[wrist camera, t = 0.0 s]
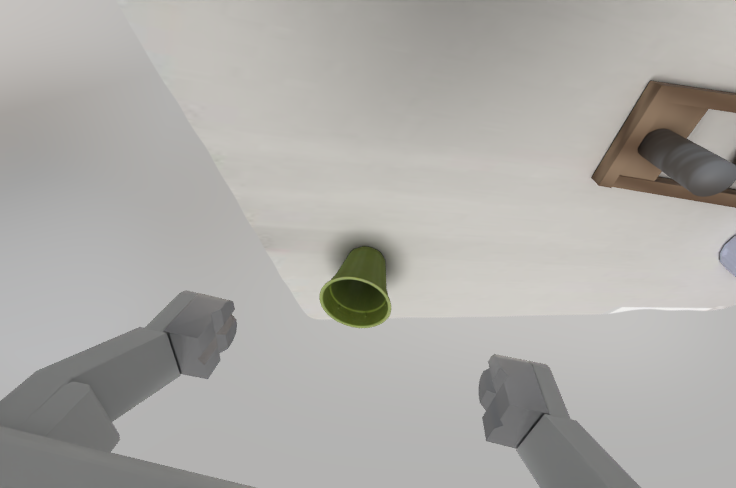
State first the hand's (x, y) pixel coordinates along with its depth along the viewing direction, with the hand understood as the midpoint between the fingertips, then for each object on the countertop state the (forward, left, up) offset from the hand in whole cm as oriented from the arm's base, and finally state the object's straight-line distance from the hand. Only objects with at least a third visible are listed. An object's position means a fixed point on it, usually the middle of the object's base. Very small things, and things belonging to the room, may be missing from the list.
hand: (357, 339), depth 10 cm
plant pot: (+31, -3, -39) cm, 50 cm away
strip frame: (+2, +38, -39) cm, 54 cm away
